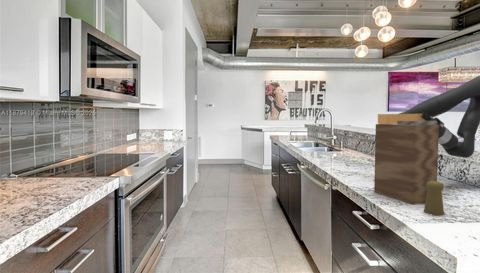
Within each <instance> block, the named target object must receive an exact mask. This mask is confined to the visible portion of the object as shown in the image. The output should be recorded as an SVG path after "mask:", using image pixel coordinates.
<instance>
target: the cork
mask: <svg viewBox="0 0 480 273" xmlns="http://www.w3.org/2000/svg"><path fill="white" fill-rule="evenodd" d="M426 188H427V190H428V191H427V197H426V202H425V203H424V209H423V213H425V214H427V213H428V215H430V214H432V215H431V216H444V215H445V211H444V210H445V209H444V201H443V193H442V192H443V191H444V189H445V186H444V184H443V183H442V181H438V180H437V181H429V182H427V183H426Z"/></svg>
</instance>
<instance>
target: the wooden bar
mask: <svg viewBox="0 0 480 273" xmlns="http://www.w3.org/2000/svg"><path fill="white" fill-rule="evenodd" d="M421 115H422V114H399V113H381V114H380V113H378V114H377V124H397V121H426V120H424V119H423V118H422V117H421Z"/></svg>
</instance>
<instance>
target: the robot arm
mask: <svg viewBox="0 0 480 273" xmlns="http://www.w3.org/2000/svg"><path fill="white" fill-rule="evenodd" d="M468 99H470V100H469V103H468V105H467V108H466V110H465V112H464V114H463V117H462V118H461V120H460V123H459V126H458V128H457V131H456V135H455V134H454V133H453V132H451V130H449V128H447V127H446V126H445V123H444V122H443V121H441V119H439V118H438V116H440V115H443V114H445V113H447V112H449V111H451V110H452V109H454V108H455V107H456V106H458V105H460V104H461V103H462V102H464V101H467V100H468ZM398 114H422V115H421V117H422V118H423V119H424V120H426V121H437V125H439V137H438V145H440V146H441V147H442V148H443V149H444V151H445V152H446V154H448V155H450V156H453V157H457V158H458V157H459V158H464V159H469V158H470V157H472V156H473V154H474V152H475V146H476V145H475V142H476V133H477V131H478V129H479V126H480V75H478V76H475V77H473V78H472V79H469V80H468V81H467V82H465V83H463V84H461V85H459V86H456V87H455V88H452V89H449V90H447V91H444V92H442V93H440V94H438V95H435V96H432V97H430V98H427V99H425V100H423V101H421V102H420V103H418V104H416V105H414V106H413V107H411V108H410V109H407V110H405V111H403V112H399V113H398ZM458 137H459V138H462V139H463V141H459V138H458Z"/></svg>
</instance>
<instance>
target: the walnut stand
mask: <svg viewBox="0 0 480 273" xmlns="http://www.w3.org/2000/svg"><path fill="white" fill-rule="evenodd" d="M374 136H375V137H374V138H375V139H374V140H375V141H374V142H375V144H374V147H375V148H374V186H373V187H374V190H373V193H376V194H379V195H382V196H385V197H388V198H391V199H395V200H398V201H400V202H403V203H406V204H409V205H419V204H425V202H426V197H427V191H428V190H427V188H426V183H427V182H429V181H438V162H439V144H438V137H439V125H437V121H397V124H378V123H376V124H375V135H374Z"/></svg>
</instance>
